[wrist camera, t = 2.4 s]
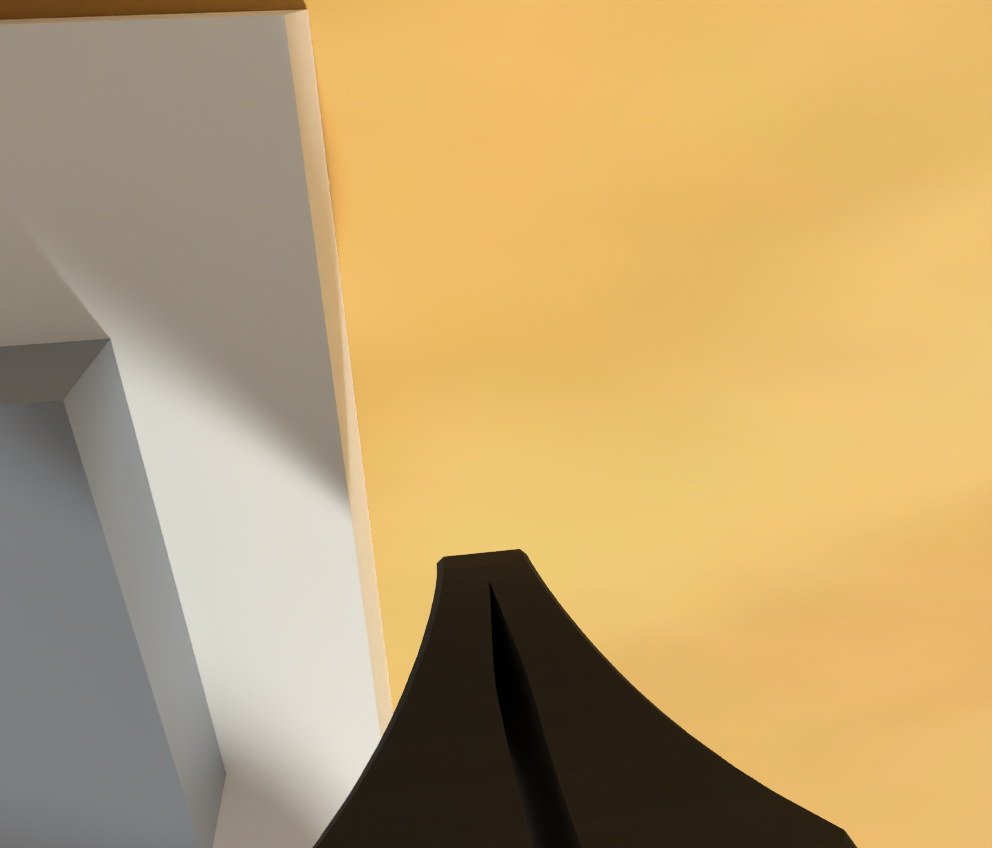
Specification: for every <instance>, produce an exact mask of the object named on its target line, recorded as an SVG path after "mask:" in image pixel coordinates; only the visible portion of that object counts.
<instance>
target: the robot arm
mask: <svg viewBox="0 0 992 848" xmlns="http://www.w3.org/2000/svg"><path fill="white" fill-rule="evenodd" d="M313 848H857V847H856V845H855V844H854V843H853V841H852V840H851V838H850V837H849V836H848V834H847V833H846V831H844V830H843V829H841V828H840V827H838V826H836V825H834V824H832V823H830V822H828V821H827V820H825V819H823V818H821V817H819V816H817V815H816V814H814V813H812V812H810V811H808V810H806V809H804V808H803V807H801V806H799V805H797V804H795V803H793V802H792V801H790V800H788V799H786V798H784V797H782V796H781V795H779V794H777V793H775V792H774V791H772V790H770V789H769V788H767V787H765V786H764V785H762V784H761V783H759V782H758V781H756V780H754V779H753V778H751V777H750V776H748V775H746V774H745V773H743V772H742V771H740V770H739V769H737V768H735V767H734V766H733V765H731V764H730V763H728V762H727V761H726V760H724V759H723V758H722V757H720V756H719V755H717V754H716V753H715V752H713V751H712V750H710V749H709V748H708V747H706V746H705V745H704V744H702V743H701V742H699V741H698V740H697V739H695V738H694V737H692V736H691V735H690V734H688V733H687V732H686V731H685V730H683V729H682V728H681V727H680V726H679V725H677V724H676V723H675V722H674V721H673V720H671V719H670V718H669V717H668V716H666V715H665V714H664V713H663V712H662V711H660V710H659V709H658V708H657V707H656V706H655V705H654V704H653V703H652V702H650V701H649V700H648V699H647V698H646V697H645V696H644V695H643V694H641V693H640V692H639V691H638V690H637V689H636V688H635V687H634V686H633V685H632V684H631V683H630V682H629V681H628V680H627V679H626V678H625V677H624V676H623V675H622V674H621V673H620V672H619V671H618V670H617V669H616V668H615V667H614V666H613V665H612V664H611V663H610V662H609V661H608V660H607V659H606V658H605V657H604V656H603V654H602V653H601V652H600V651H599V650H598V649H597V648H596V647H595V646H594V645H593V643H592V642H591V641H590V640H589V639H588V638H587V637H586V635H585V634H584V633H583V632H582V631H581V629H580V628H579V627H578V626H577V625H576V623H575V622H574V621H573V620H572V619H571V617H570V616H569V615H568V614H567V612H566V611H565V610H564V609H563V607H562V606H561V605H560V603H559V602H558V601H557V599H556V598H555V597H554V595H553V594H552V593H551V591H550V590H549V588H548V587H547V586H546V584H545V583H544V581H543V580H542V578H541V577H540V575H539V574H538V572H537V571H536V569H535V568H534V566H533V565H532V563H531V561H530V560H529V558H528V556H527V554H525V553H524V552H523V551H522V550H520V549H516V550H506V551H496V552H486V553H476V554H466V555H456V556H447V557H443V558H442V559H441V560H440V561H439V562H438V563H437V580H436V588H435V594H434V599H433V603H432V608H431V612H430V616H429V620H428V623H427V626H426V630H425V633H424V636H423V640H422V643H421V646H420V649H419V652H418V655H417V658H416V660H415V663H414V666H413V668H412V671H411V673H410V676H409V678H408V681H407V684H406V686H405V689H404V691H403V694H402V696H401V698H400V700H399V703H398V705H397V707H396V709H395V712H394V714H393V716H392V718H391V720H390V722H389V724H388V726H387V728H386V730H385V732H384V734H383V736H382V738H381V740H380V742H379V744H378V746H377V747H376V749H375V751H374V753H373V754H372V756H371V758H370V760H369V762H368V763H367V765H366V767H365V769H364V770H363V772H362V774H361V776H360V777H359V779H358V781H357V782H356V784H355V786H354V787H353V789H352V790H351V792H350V794H349V795H348V797H347V798H346V800H345V801H344V803H343V804H342V806H341V807H340V809H339V810H338V812H337V813H336V814H335V816H334V817H333V819H332V820H331V822H330V823H329V825H328V826H327V827H326V829H325V830H324V832H323V833H322V835H321V836H320V838H319V839H318V841H317V842H316V843H315V845H314V846H313Z"/></svg>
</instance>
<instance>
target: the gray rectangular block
mask: <svg viewBox="0 0 992 848" xmlns="http://www.w3.org/2000/svg"><path fill="white" fill-rule="evenodd" d="M225 779H226V771H225V767H224V764H223V760H222V756H221V752H220V749H219V745H218V741H217V737H216V733H215V730H214V726H213V722H212V718H211V715H210V711H209V707H208V703H207V700H206V696H205V692H204V688H203V685H202V681H201V677H200V673H199V670H198V666H197V662H196V658H195V655H194V651H193V647H192V643H191V640H190V636H189V632H188V628H187V624H186V621H185V617H184V613H183V609H182V606H181V602H180V598H179V594H178V591H177V587H176V583H175V579H174V576H173V572H172V568H171V564H170V561H169V557H168V553H167V549H166V546H165V542H164V538H163V534H162V531H161V527H160V523H159V519H158V515H157V512H156V508H155V504H154V500H153V497H152V493H151V489H150V485H149V482H148V478H147V474H146V470H145V467H144V463H143V459H142V455H141V452H140V448H139V444H138V440H137V437H136V433H135V429H134V425H133V422H132V418H131V414H130V410H129V407H128V403H127V399H126V395H125V391H124V388H123V384H122V380H121V376H120V373H119V369H118V365H117V361H116V358H115V354H114V350H113V346H112V343H111V339H98V340H84V341H70V342H56V343H42V344H28V345H14V346H1V347H0V848H212V847H213V842H214V837H215V831H216V826H217V821H218V816H219V810H220V805H221V800H222V795H223V789H224V784H225Z"/></svg>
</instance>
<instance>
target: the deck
mask: <svg viewBox="0 0 992 848" xmlns="http://www.w3.org/2000/svg"><path fill="white" fill-rule="evenodd" d="M98 339H111V343H112V346H113V350H114V354H115V358H116V361H117V365H118V369H119V373H120V376H121V380H122V384H123V388H124V391H125V395H126V399H127V403H128V407H129V410H130V414H131V418H132V422H133V425H134V429H135V433H136V437H137V440H138V444H139V448H140V452H141V455H142V459H143V463H144V467H145V470H146V474H147V478H148V482H149V485H150V489H151V493H152V497H153V500H154V504H155V508H156V512H157V515H158V519H159V523H160V527H161V531H162V534H163V538H164V542H165V546H166V549H167V553H168V557H169V561H170V564H171V568H172V572H173V576H174V579H175V583H176V587H177V591H178V594H179V598H180V602H181V606H182V609H183V613H184V617H185V621H186V624H187V628H188V632H189V636H190V640H191V643H192V647H193V651H194V655H195V658H196V662H197V666H198V670H199V673H200V677H201V681H202V685H203V688H204V692H205V696H206V700H207V703H208V707H209V711H210V715H211V718H212V722H213V726H214V730H215V733H216V737H217V741H218V745H219V749H220V752H221V756H222V760H223V764H224V767H225V771H226V779H225V784H224V789H223V795H222V800H221V805H220V810H219V816H218V821H217V826H216V831H215V837H214V842H213V847H212V848H313V846H314V845H315V843H316V842H317V841H318V839H319V838H320V836H321V835H322V833H323V832H324V830H325V829H326V827H327V826H328V825H329V823H330V822H331V820H332V819H333V817H334V816H335V814H336V813H337V812H338V810H339V809H340V807H341V806H342V804H343V803H344V801H345V800H346V798H347V797H348V795H349V794H350V792H351V790H352V789H353V787H354V786H355V784H356V782H357V781H358V779H359V777H360V776H361V774H362V772H363V770H364V769H365V767H366V765H367V763H368V762H369V760H370V758H371V756H372V754H373V753H374V751H375V749H376V747H377V746H378V744H379V742H380V740H381V738H382V736H383V734H384V732H385V730H386V728H387V726H388V724H389V722H390V720H391V718H392V716H393V708H392V700H391V692H390V683H389V675H388V667H387V659H386V650H385V642H384V634H383V625H382V617H381V609H380V601H379V592H378V584H377V576H376V568H375V559H374V551H373V543H372V535H371V526H370V518H369V510H368V501H367V493H366V485H365V477H364V468H363V460H362V452H361V444H360V435H359V427H358V419H357V411H356V402H355V394H354V386H353V377H352V369H351V361H350V353H349V344H348V336H347V328H346V320H345V311H344V303H343V295H342V287H341V278H340V270H339V262H338V253H337V245H336V237H335V229H334V220H333V212H332V204H331V196H330V187H329V179H328V171H327V163H326V154H325V146H324V138H323V130H322V121H321V113H320V105H319V96H318V88H317V80H316V72H315V63H314V55H313V47H312V39H311V30H310V22H309V14H308V9H302V10H272V11H242V12H213V13H183V14H153V15H124V16H94V17H64V18H35V19H5V20H0V347H1V346H14V345H28V344H42V343H56V342H70V341H84V340H98Z"/></svg>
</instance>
